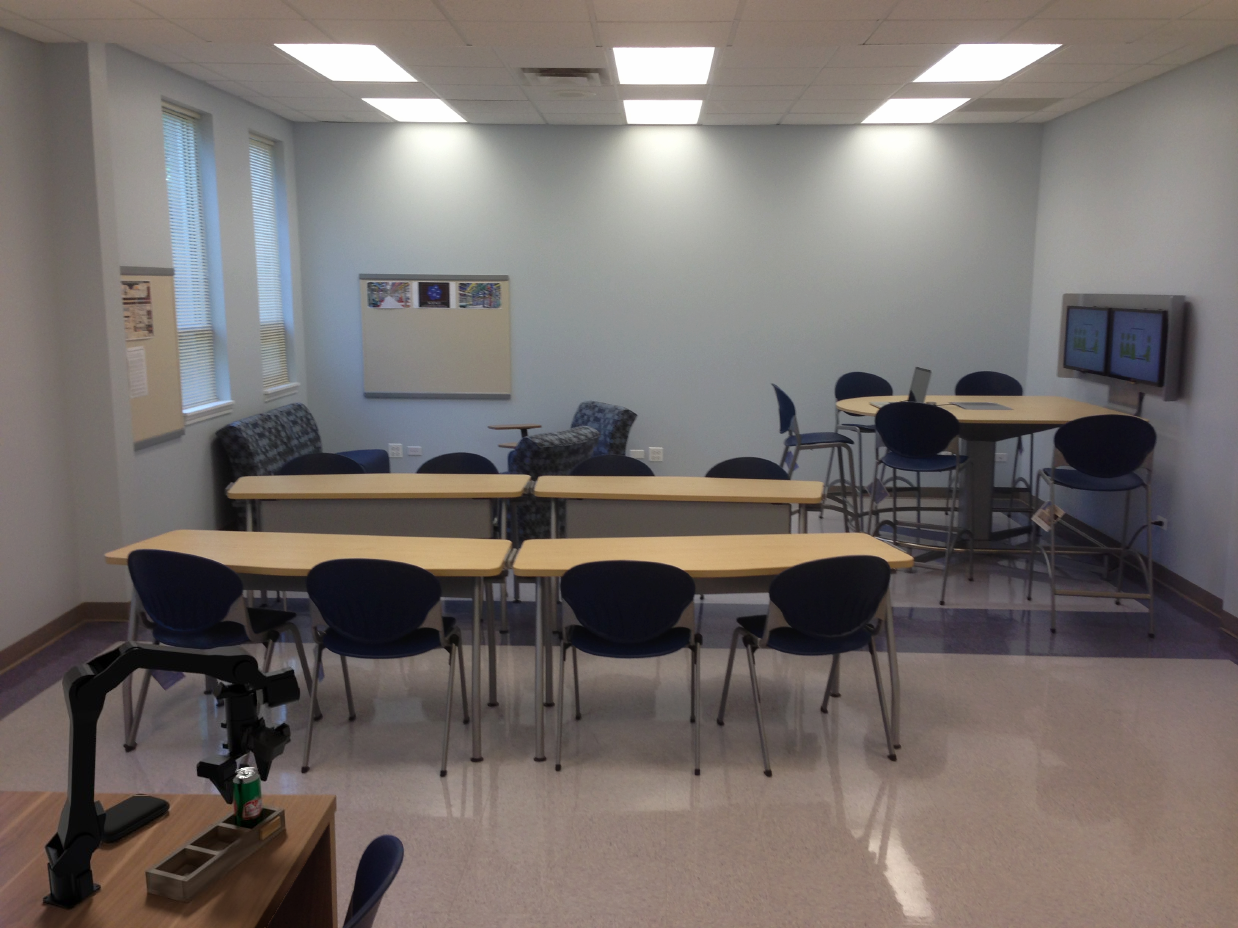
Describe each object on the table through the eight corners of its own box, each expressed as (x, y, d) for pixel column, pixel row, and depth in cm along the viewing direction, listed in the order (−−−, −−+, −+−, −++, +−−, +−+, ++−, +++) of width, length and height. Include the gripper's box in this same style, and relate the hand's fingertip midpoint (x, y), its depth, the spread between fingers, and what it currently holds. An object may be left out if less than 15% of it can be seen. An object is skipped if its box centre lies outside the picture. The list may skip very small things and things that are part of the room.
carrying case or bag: (137, 801, 198) (71, 836, 184) (136, 787, 197) (69, 822, 184) (175, 811, 193) (110, 849, 180) (174, 797, 193) (109, 834, 180)
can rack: (147, 891, 166) (145, 870, 166) (248, 819, 190) (246, 800, 189) (191, 903, 163) (189, 881, 163) (288, 828, 186) (286, 809, 186)
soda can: (246, 841, 180) (241, 781, 178) (229, 832, 183) (225, 773, 181) (269, 829, 184) (265, 770, 182) (253, 821, 187) (249, 763, 185)
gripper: (241, 742, 168) (247, 824, 171) (309, 701, 186) (314, 776, 188) (191, 732, 172) (197, 813, 175) (262, 693, 190) (267, 767, 192)
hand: (247, 791), depth 182 cm, fingers open, 9 cm apart
